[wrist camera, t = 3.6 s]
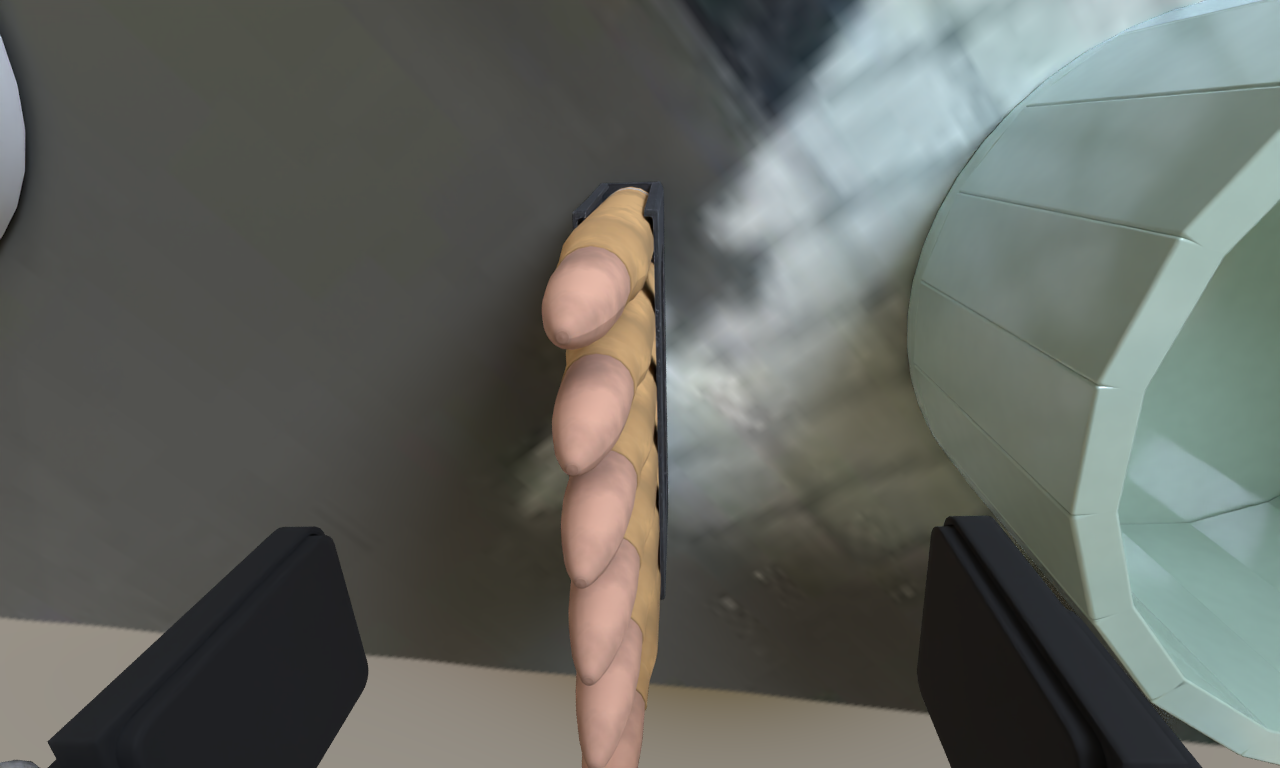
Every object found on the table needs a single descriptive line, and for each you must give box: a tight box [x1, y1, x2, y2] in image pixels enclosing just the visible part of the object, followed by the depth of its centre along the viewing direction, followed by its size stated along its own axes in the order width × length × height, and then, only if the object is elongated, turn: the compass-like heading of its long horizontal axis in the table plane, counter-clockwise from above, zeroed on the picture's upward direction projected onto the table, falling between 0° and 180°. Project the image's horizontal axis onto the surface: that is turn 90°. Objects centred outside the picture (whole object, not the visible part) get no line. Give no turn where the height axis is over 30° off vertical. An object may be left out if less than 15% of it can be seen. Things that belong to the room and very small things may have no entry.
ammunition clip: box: [542, 182, 668, 768], centre depth 15 cm, size 11×2×12 cm, turn 2°
